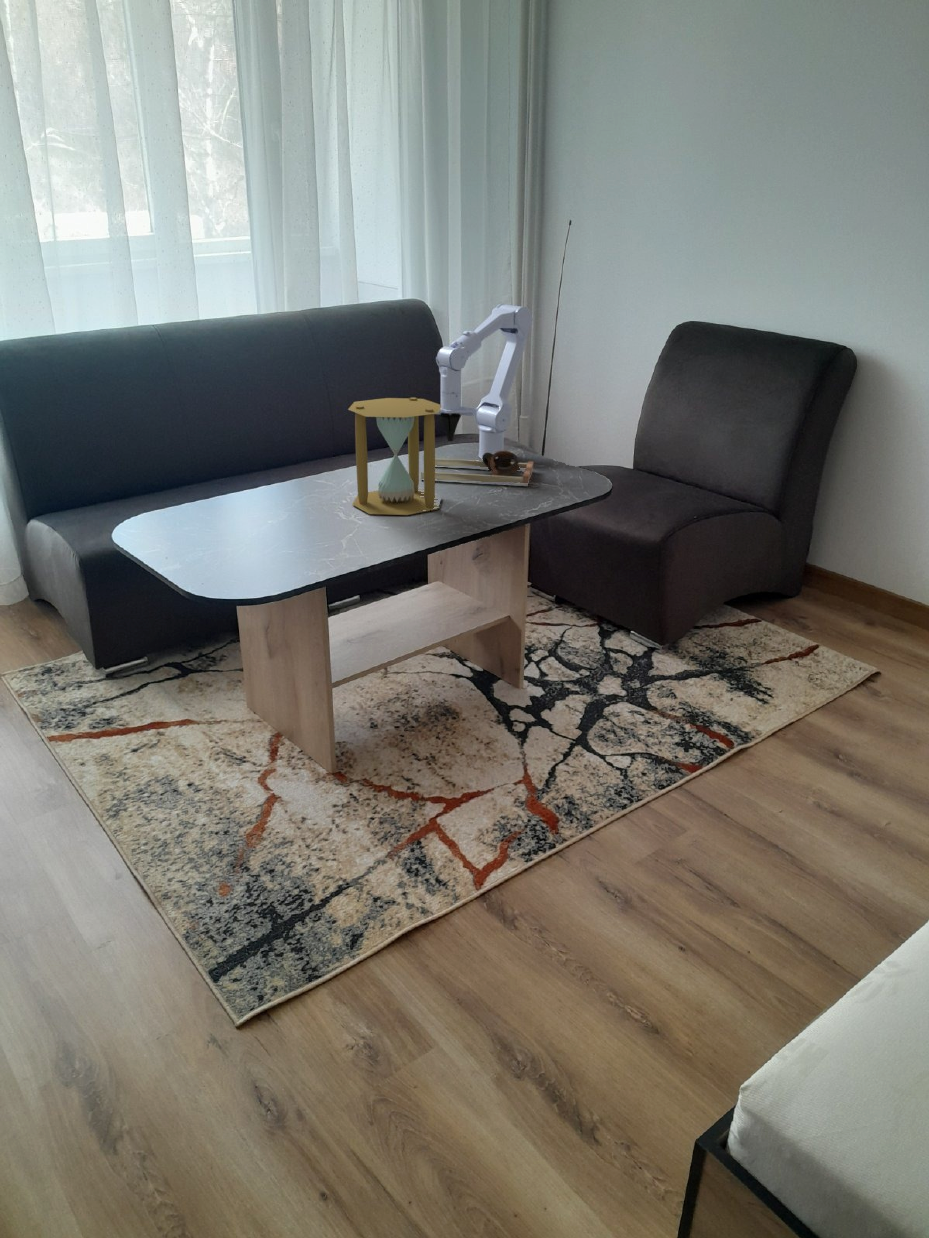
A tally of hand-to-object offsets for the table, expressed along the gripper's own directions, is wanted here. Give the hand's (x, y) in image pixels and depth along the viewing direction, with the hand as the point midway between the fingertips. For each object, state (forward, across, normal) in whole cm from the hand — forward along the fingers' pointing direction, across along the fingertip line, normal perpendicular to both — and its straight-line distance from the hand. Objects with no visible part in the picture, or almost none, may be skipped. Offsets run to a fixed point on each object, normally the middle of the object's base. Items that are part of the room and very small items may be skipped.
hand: (450, 440), depth 265 cm
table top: (+8, +8, -6) cm, 13 cm away
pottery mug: (+9, +15, -4) cm, 18 cm away
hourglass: (+9, -8, -33) cm, 35 cm away
